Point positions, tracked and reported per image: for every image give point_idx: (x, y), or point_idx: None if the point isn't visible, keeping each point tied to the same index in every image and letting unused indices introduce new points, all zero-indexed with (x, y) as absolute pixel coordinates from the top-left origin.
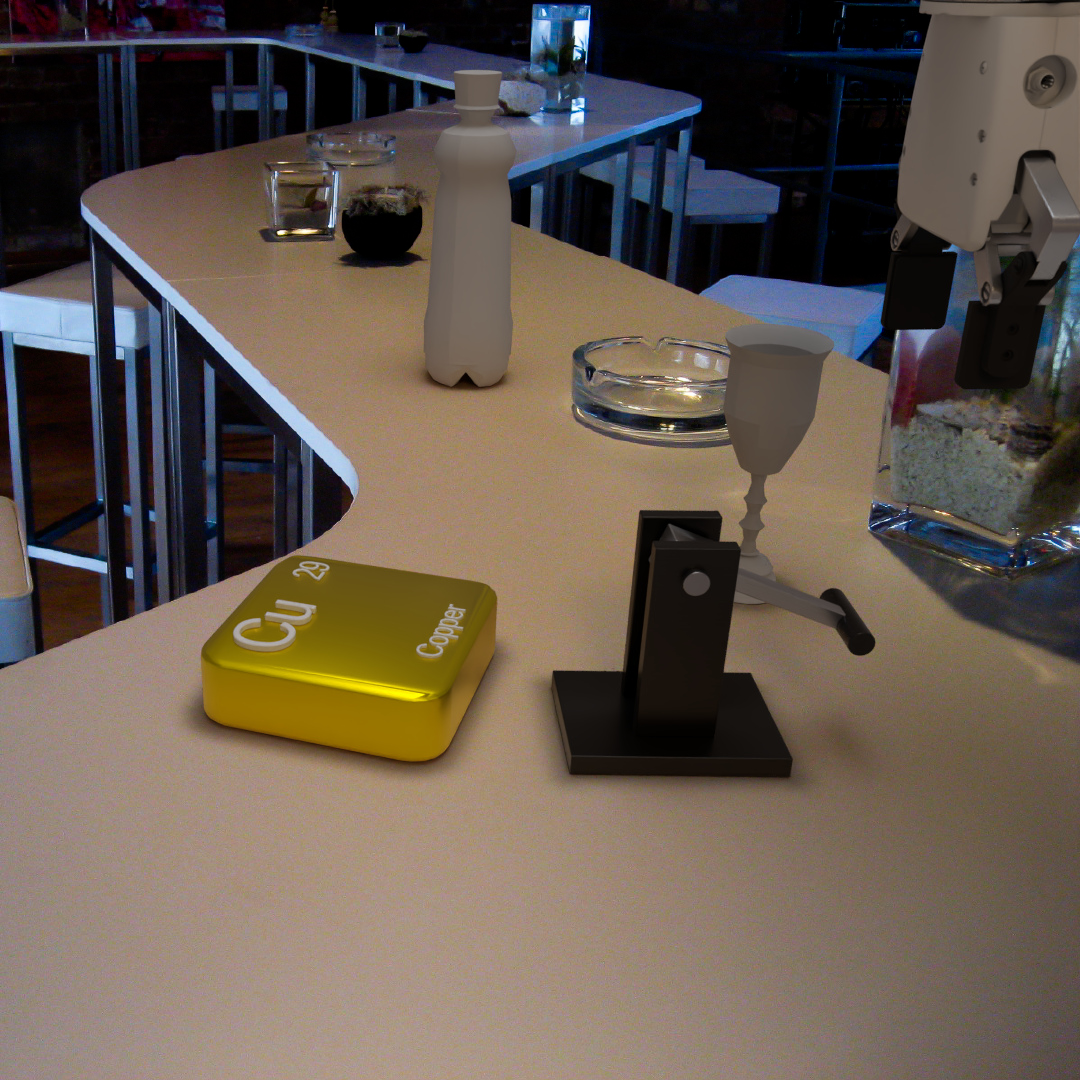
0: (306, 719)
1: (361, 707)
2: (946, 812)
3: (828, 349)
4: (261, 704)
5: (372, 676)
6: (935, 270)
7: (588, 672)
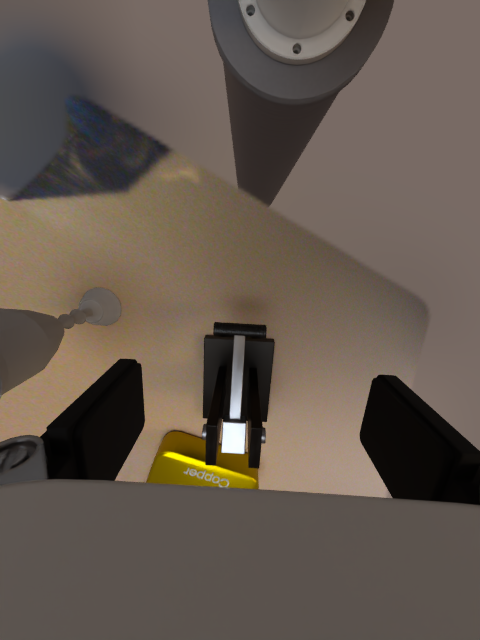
0: None
1: None
2: (301, 284)
3: None
4: None
5: None
6: (100, 440)
7: (205, 405)
